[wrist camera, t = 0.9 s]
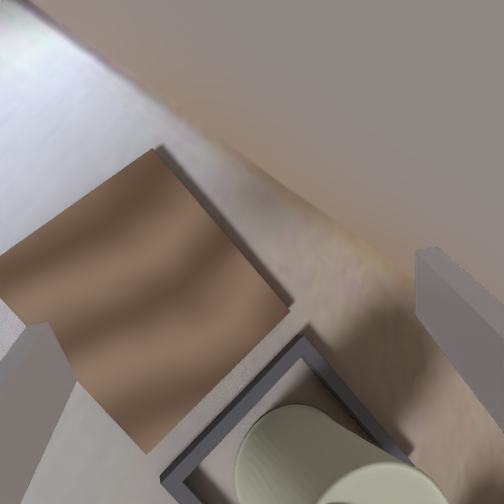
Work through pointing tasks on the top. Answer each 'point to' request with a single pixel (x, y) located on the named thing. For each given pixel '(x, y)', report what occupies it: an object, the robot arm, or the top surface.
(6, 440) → the robot arm
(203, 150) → the top surface
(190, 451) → the grey picture frame
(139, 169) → the walnut board
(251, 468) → the can
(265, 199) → the top surface
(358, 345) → the top surface
